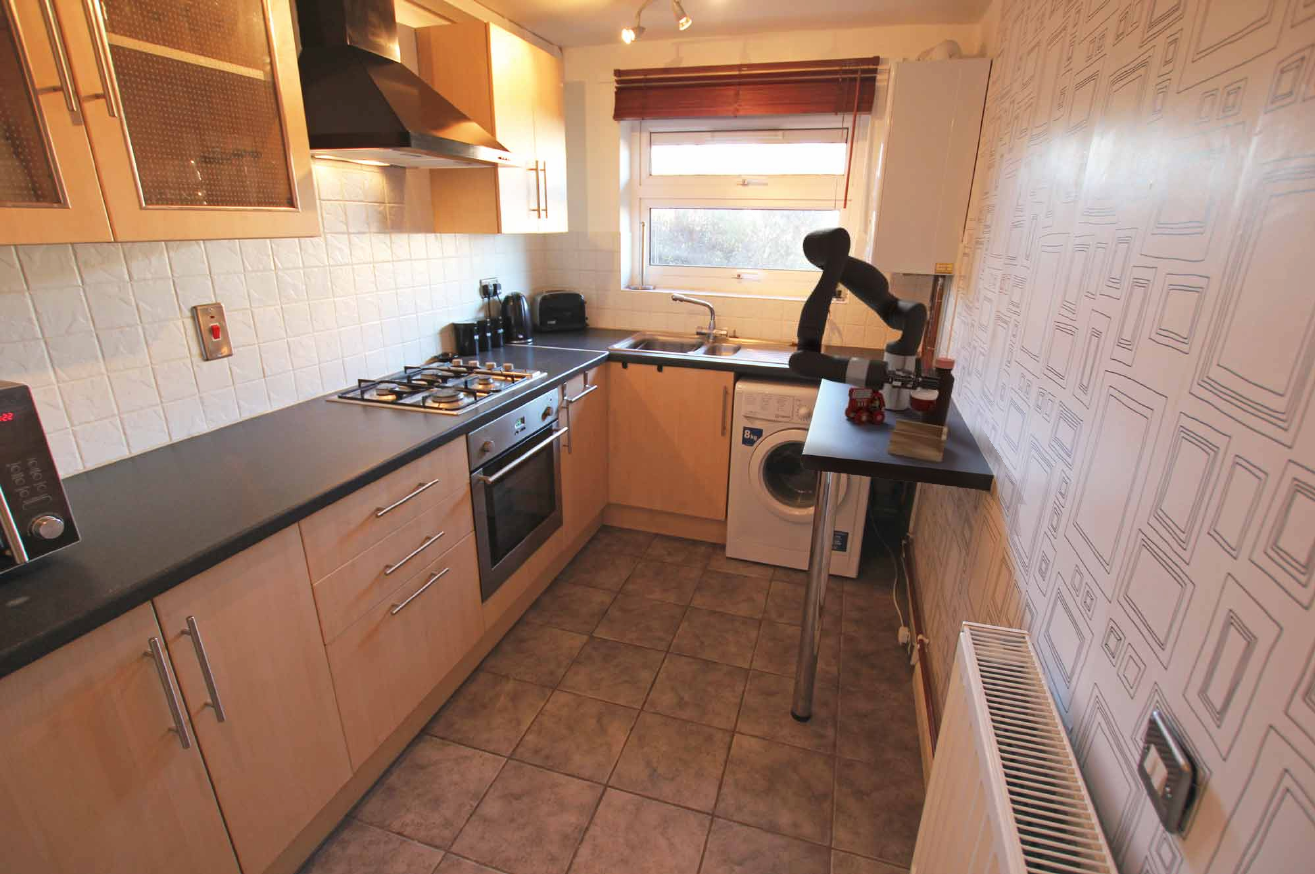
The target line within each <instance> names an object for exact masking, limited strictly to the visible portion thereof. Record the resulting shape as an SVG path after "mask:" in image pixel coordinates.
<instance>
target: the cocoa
mask: <svg viewBox="0 0 1315 874" xmlns="http://www.w3.org/2000/svg"><path fill="white" fill-rule="evenodd" d="M914 370H915V372H916V376H915V377H916V378H921V379H922V377H921V373H922V359H921V358H919V357H916V359H915V365H914ZM938 393H939V392H938V391H937V390H930V389H923V388H921V387H920V389H917V390H911V389H910V392H909V406H910V409H912V410H913V411H915V412H920V413H921V412H928V411H931V410H933V409H934V408H935V407H936V400H937V396H938Z"/></svg>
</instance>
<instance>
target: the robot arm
mask: <svg viewBox="0 0 1315 874" xmlns="http://www.w3.org/2000/svg"><path fill="white" fill-rule="evenodd" d="M851 247H852V240H851V235H850V233H849V232H848V230H847V229H846V228H844V227H841V226H840V227H839V226H838V227H837V226H836V227H826V228H818V229H814V230H812V231H810V232H808V233H807V234H806V235H805V237H804V239H803V240H802V251H803V254H804V257H805V258H806V260H807V261H808V262H809V263H810V264H811V265H813V267H816V268H818V269H820V270H821V271H822V273H821V276H820V277H819V279H818V282H817V284H816V285H815V287H814V289H813V290H812V291H811V293H810V295H809V296H808V297H807V299H806V301H805V302H804V304H803V307H802V308H801V311H800V316H799V321H798V325H797V330H796V331H797V332H796V337H797V347H796V351H794V352H793V353H792V354H791V355H790V356H789V358H788V361H787V365H788V368H789V370H790V371H791V373H792V374H793V375H795V376H797V377H799V378H803V379H807V378H812V379H822V380H826V381H827V382H828V381H829V382H833V383H837V384H843V385H848V386H851V387H862V388H868V389H875V390H879V392H880V393H882V394H883V397H884V401H885V404H886V406H885V410H886V409H887V410H891V411H892V410H893V411H903V410H906V409H907V406H908V401H909V398H910V392H911V390H917V389H920V387H921V388H923V389H930V390H937V389H938V385H939V381H940V378H938V377H931V376H929V375H925V374H923V373H922V372H921V377H922V379H921V378H916V371H914V370H915V359H916V358H917V354H918V351H919V348H920V346H921V344H922V341H923V336H924V332H925V327H926V324H927V320H928V319H927V318H928V310H927V309H928V308H927V306H926V305H925V304H924V303H923V302H919V301H915V300H914V301H913V300H907V299H902V298H899V297H897V296H895V295H894V294H892V292H891V291H890V284H889V281H888V279H887V277H886V276H885V274H884V273H883V272H882V271H880V270H879V269H878V268H877V267H875V266H874V265H873V264H872V263H870V262H867V261H864V260H862V259H860V258H856V257H854V256H852V255H850V251H851ZM839 284H840V285H842V286H843V287H844V288H845V289H847V290H848V291H849V292H850V293H851V294H852V295H854V297H856V298H857V299H859V300H860V302H863V303H864V304H865V305H866V306H867V307H868V308H869V309H870V310H872V311H874V312H875V314H877V315H878V317H879V318H880V319H881V320H882V321H883V323H884V324H885V325H886V326H887V327H889V328H890V329H892V330H896V331H900V332H901V335H900V338H899V339H897V340H892V341H889V342H887V343H886V345H885V350H884V354H883V355H884V356H883V360H880V359H872V358H864V357H851V356H844V355H832V354H826V353H823V352H822V348H823V347H822V346H823V338H824V334H825V331H826V325H827V322H828V317H829V316H828V315H829V311H830V308H831V305H832V301H833V298H834V297H835V296H834V295H835V293H836V290H837V288H838V285H839Z"/></svg>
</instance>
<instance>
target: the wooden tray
mask: <svg viewBox="0 0 1315 874" xmlns="http://www.w3.org/2000/svg"><path fill="white" fill-rule="evenodd" d="M894 426H895V427H894V429H892V430H891V432H890V438H889V443H888V448H887V452H886V453H888V454H894V455H898V456H903V455H904V456H903V457H908V456H909V458H913V457H914V459H919V460H924V461H931V462H935V463H942V460H943V456H944V451H945V446H946V441H947V436H948V428H949V426H947V425H945V426H944V427H942V426H936V425H930V424H924V423H919V422H918V421H912V420H905V419H899V418H897V419H896V421H895V425H894Z"/></svg>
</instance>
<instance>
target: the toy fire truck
mask: <svg viewBox="0 0 1315 874" xmlns="http://www.w3.org/2000/svg"><path fill="white" fill-rule="evenodd" d="M847 396H848V403H847V404H848V405H847V407H846V408H845V411H844V415H845V417H846V418H847V419H849V420H854V421H855V423H857V424H858V425H862V426H864V425H866V424H867V423H868V422H869V421H871V423H873V424H875V425H880V424H883V423H884V421H885V418H886V415H885V411H886V408H885V406H886V404H885V401H884V397H883V394H882V393H880V392H879V390H875V389H868V388H862V387H856V386H851V387H850V388H849V389H848V395H847Z"/></svg>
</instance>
